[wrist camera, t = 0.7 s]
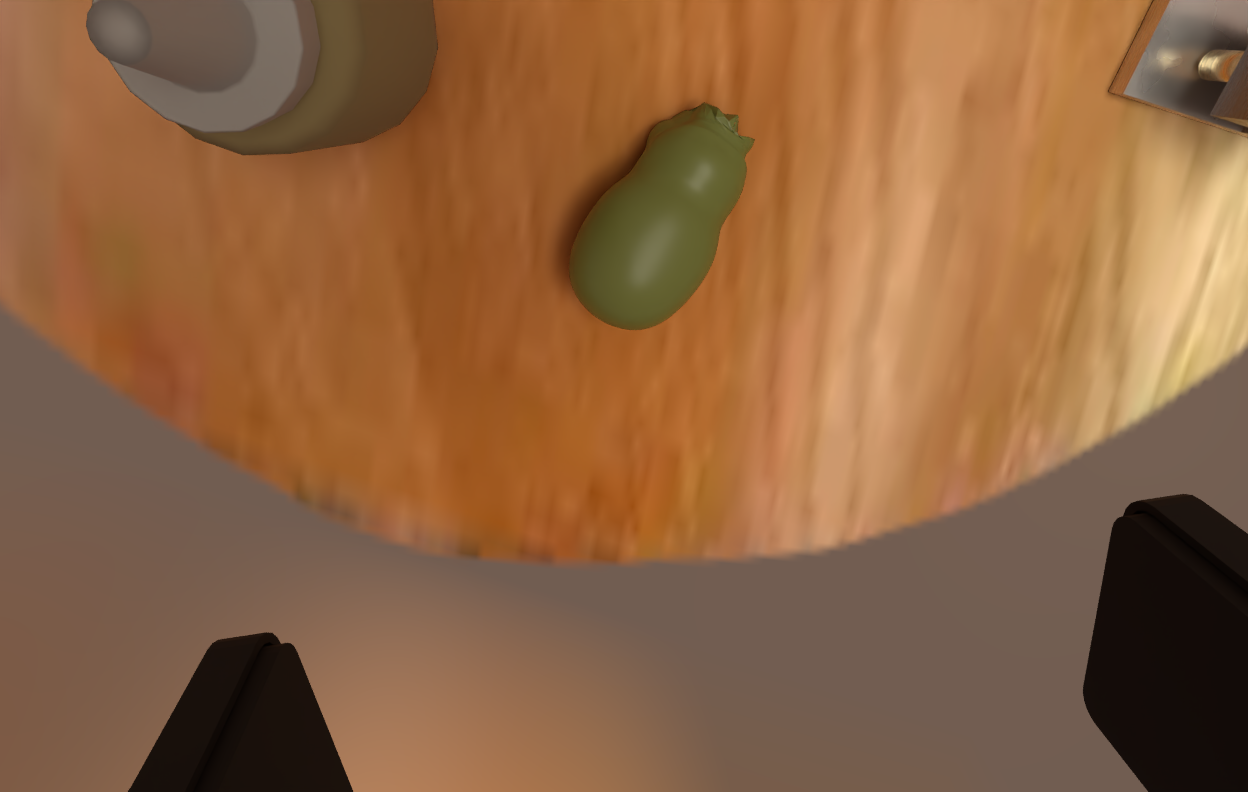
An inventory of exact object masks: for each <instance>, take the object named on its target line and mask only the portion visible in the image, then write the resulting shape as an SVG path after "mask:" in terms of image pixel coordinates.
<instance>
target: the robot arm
mask: <svg viewBox="0 0 1248 792" xmlns="http://www.w3.org/2000/svg"><path fill="white" fill-rule="evenodd" d="M1083 696H1084V701H1085V704H1086V708H1087V710H1088V712H1089V714H1090V716H1091V718H1092V719H1093V721H1094V723H1095V724H1096V725H1097V727H1098V728H1099V729H1100V730H1101V732H1102V733H1103V734H1104V736H1105V737H1106V738H1107V739H1108V740H1109V742H1110V743H1111V744H1112V746H1113V747H1114V748H1115V750H1116V751H1117V752H1118V754H1119V755H1120V756H1121V757H1122V759H1123V760H1124V761H1125V763H1126V764H1127V765H1128V766H1129V768H1130V769H1131V770H1132V771H1133V773H1134V774H1135V775H1136V777H1137V778H1138V779H1139V780H1140V782H1141V783H1142V784H1143V785H1144V787H1145V788H1146V789H1147V791H1148V792H1248V534H1247V533H1246V532H1244V531H1243V530H1242V529H1240V528H1239V527H1238V526H1236V525H1235V524H1233V523H1232V522H1231V521H1229V520H1228V519H1227V518H1225V517H1224V516H1222V515H1221V514H1220V513H1218V512H1217V511H1216V510H1214V509H1213V508H1212V507H1210V506H1209V505H1207V504H1206V503H1205V502H1203V501H1202V500H1200V499H1198V498H1196V497H1195V496H1193V495H1187V494H1180V495H1174V496H1167V497H1160V498H1154V499H1147V500H1141V501H1136V502H1133V503H1131V504H1130V505H1129V506H1128V507H1127V508H1126V510H1125V513H1124V515H1123V517H1119V518H1118V519H1117V520H1116V521H1115V522H1114V524H1113V527H1112V532H1111V537H1110V542H1109V548H1108V554H1107V559H1106V564H1105V570H1104V575H1103V581H1102V586H1101V592H1100V597H1099V603H1098V608H1097V614H1096V619H1095V625H1094V630H1093V636H1092V641H1091V647H1090V652H1089V658H1088V664H1087V669H1086V674H1085V680H1084V685H1083ZM128 792H353V790H352V787H351V785H350V782H349V780H348V777H347V775H346V772H345V770H344V767H343V765H342V763H341V760H340V757H339V755H338V752H337V750H336V748H335V745H334V742H333V740H332V737H331V735H330V732H329V730H328V728H327V725H326V723H325V720H324V718H323V715H322V713H321V710H320V708H319V705H318V703H317V700H316V698H315V695H314V693H313V690H312V688H311V685H310V683H309V680H308V678H307V675H306V673H305V670H304V668H303V665H302V663H301V660H300V658H299V655H298V653H297V651H296V649H295V647H294V646H293V645H292V644H291V643H284V644H281V643H280V641H279V640H278V638H277V637H276V636H275V635H274V634H273V633H260V634H253V635H248V636H240V637H233V638H227V639H221V640H217V641H216V642H214V643H212V645H211V646H210V647H209V649H208V650H207V651H206V653H205V655H204V657H203V659H202V661H201V662H200V664H199V666H198V668H197V669H196V671H195V673H194V675H193V677H192V678H191V680H190V682H189V684H188V686H187V687H186V689H185V691H184V693H183V695H182V696H181V698H180V700H179V702H178V704H177V705H176V707H175V709H174V711H173V713H172V714H171V716H170V718H169V720H168V721H167V723H166V725H165V727H164V729H163V730H162V732H161V734H160V736H159V738H158V740H157V741H156V743H155V745H154V747H153V749H152V750H151V752H150V754H149V756H148V758H147V759H146V761H145V763H144V765H143V766H142V768H141V770H140V772H139V774H138V775H137V777H136V779H135V781H134V783H133V784H132V786H131V788H130V789H129V790H128Z"/></svg>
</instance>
